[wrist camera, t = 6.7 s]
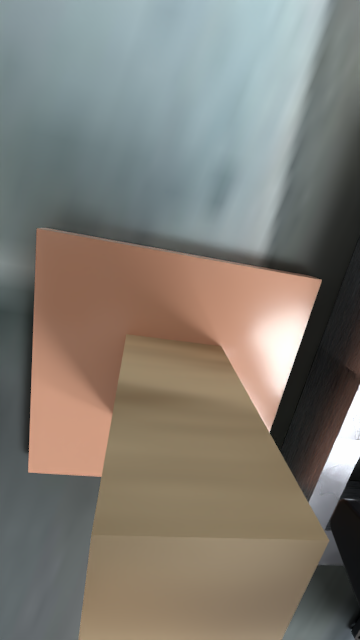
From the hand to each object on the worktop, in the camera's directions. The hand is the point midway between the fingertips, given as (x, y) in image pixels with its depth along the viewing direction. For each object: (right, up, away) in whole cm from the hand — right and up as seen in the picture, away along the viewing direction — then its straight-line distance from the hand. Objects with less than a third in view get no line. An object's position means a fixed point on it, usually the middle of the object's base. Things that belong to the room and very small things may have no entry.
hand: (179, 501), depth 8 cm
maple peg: (0, +2, +5) cm, 6 cm away
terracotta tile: (-1, +2, +6) cm, 6 cm away
